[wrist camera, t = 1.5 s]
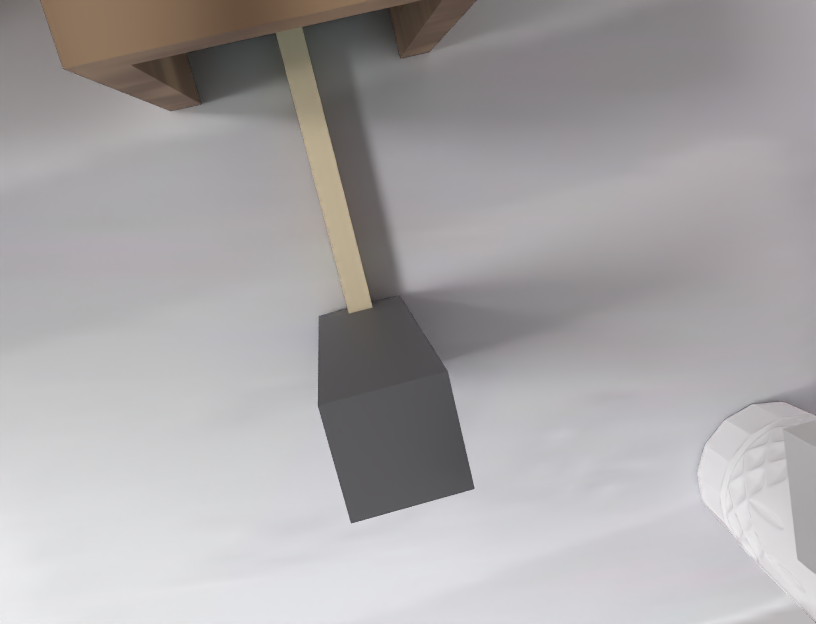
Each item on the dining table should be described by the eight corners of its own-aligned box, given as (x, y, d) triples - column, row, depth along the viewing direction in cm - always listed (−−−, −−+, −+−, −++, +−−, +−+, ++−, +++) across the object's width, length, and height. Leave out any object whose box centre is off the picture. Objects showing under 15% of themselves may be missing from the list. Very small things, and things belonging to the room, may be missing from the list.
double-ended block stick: (311, 400, 29) (305, 536, 18) (161, -130, 24) (33, -372, 13) (445, 364, 29) (518, 476, 19) (324, -164, 24) (327, -422, 14)
